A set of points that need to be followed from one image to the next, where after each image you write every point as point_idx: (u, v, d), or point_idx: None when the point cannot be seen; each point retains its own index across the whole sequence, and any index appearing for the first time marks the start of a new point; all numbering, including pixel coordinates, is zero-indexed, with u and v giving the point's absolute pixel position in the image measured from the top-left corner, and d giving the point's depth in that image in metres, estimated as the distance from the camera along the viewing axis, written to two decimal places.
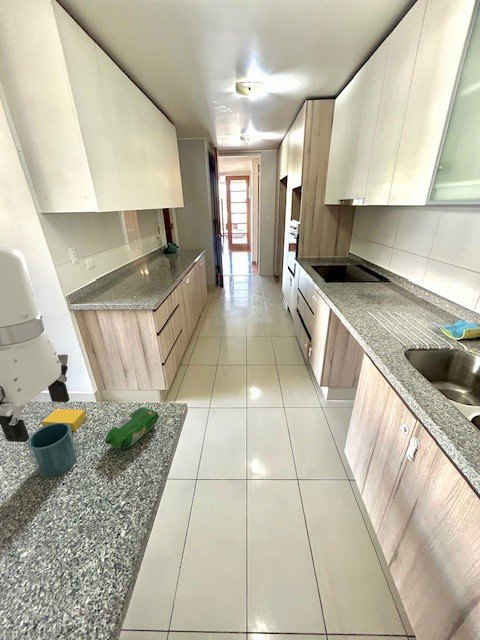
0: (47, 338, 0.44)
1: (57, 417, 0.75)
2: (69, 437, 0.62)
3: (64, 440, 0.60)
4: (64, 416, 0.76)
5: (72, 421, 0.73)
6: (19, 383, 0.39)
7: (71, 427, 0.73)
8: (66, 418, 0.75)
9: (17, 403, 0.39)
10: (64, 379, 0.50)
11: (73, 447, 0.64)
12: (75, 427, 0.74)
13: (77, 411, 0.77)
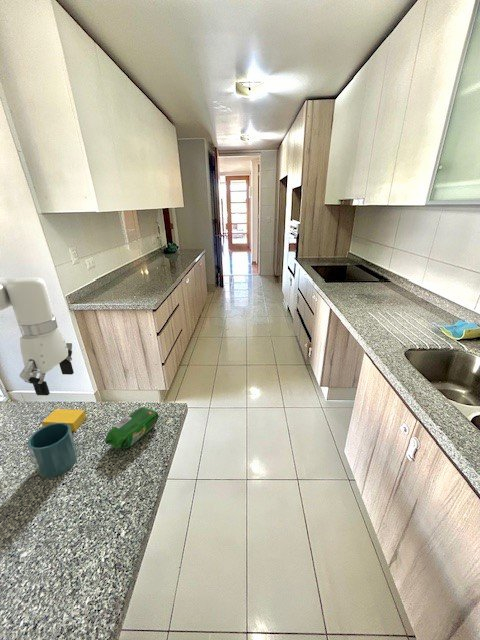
0: (59, 331, 0.70)
1: (57, 417, 0.75)
2: (69, 437, 0.62)
3: (64, 440, 0.60)
4: (64, 416, 0.76)
5: (72, 421, 0.73)
6: (44, 358, 0.65)
7: (71, 427, 0.73)
8: (66, 418, 0.75)
9: (42, 370, 0.65)
10: (70, 359, 0.75)
11: (73, 447, 0.64)
12: (75, 427, 0.74)
13: (77, 411, 0.77)
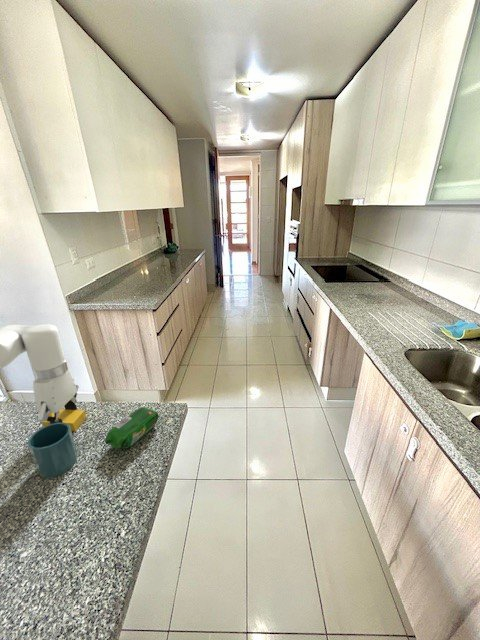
0: (69, 372, 0.74)
1: None
2: (69, 437, 0.62)
3: (64, 440, 0.60)
4: (65, 416, 0.76)
5: (72, 421, 0.73)
6: (55, 400, 0.69)
7: (71, 427, 0.73)
8: (66, 418, 0.75)
9: (53, 411, 0.69)
10: (75, 401, 0.78)
11: (73, 447, 0.64)
12: (75, 427, 0.74)
13: (77, 411, 0.77)
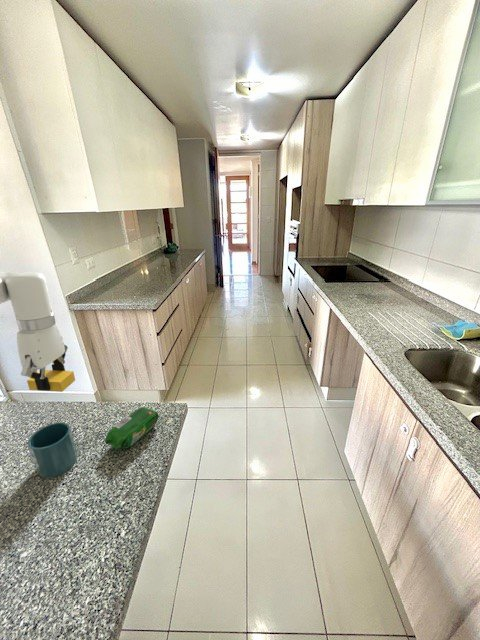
0: (57, 328, 0.69)
1: None
2: (69, 437, 0.62)
3: (64, 440, 0.60)
4: (51, 376, 0.71)
5: (59, 381, 0.68)
6: (40, 354, 0.64)
7: (58, 387, 0.69)
8: (52, 378, 0.70)
9: (38, 366, 0.64)
10: (63, 362, 0.74)
11: (73, 447, 0.64)
12: (62, 387, 0.69)
13: (65, 372, 0.73)
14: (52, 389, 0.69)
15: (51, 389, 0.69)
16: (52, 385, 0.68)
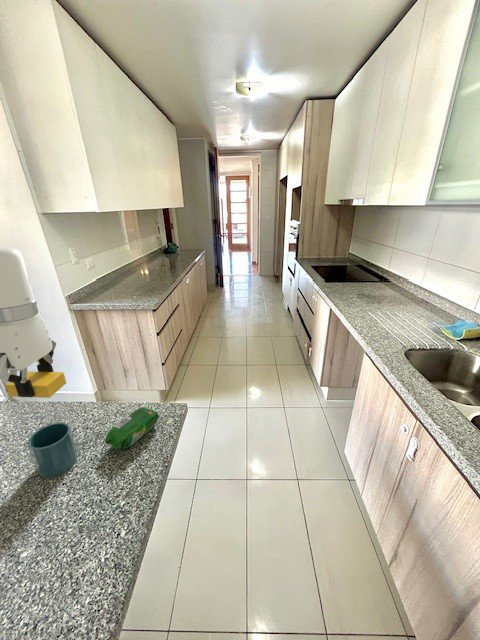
0: (40, 319, 0.56)
1: None
2: (69, 437, 0.62)
3: (64, 440, 0.60)
4: (36, 378, 0.57)
5: (45, 384, 0.55)
6: (19, 352, 0.51)
7: (44, 392, 0.55)
8: (37, 381, 0.56)
9: (17, 367, 0.51)
10: (50, 361, 0.60)
11: (73, 447, 0.64)
12: (50, 392, 0.56)
13: (53, 373, 0.59)
14: (37, 395, 0.56)
15: (36, 395, 0.56)
16: (36, 390, 0.55)
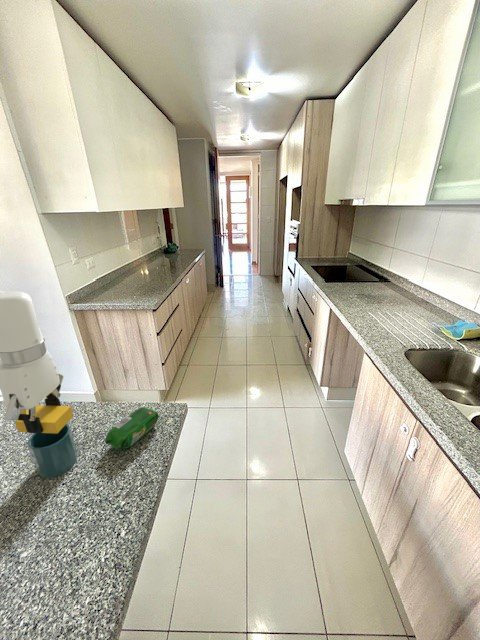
0: (48, 356, 0.57)
1: None
2: (69, 437, 0.62)
3: (64, 440, 0.60)
4: (44, 413, 0.59)
5: (53, 421, 0.57)
6: (28, 392, 0.52)
7: (52, 428, 0.57)
8: (45, 417, 0.58)
9: (27, 407, 0.52)
10: (58, 395, 0.62)
11: (73, 447, 0.64)
12: (57, 428, 0.57)
13: (61, 407, 0.61)
14: (45, 431, 0.57)
15: (44, 431, 0.57)
16: (45, 426, 0.57)
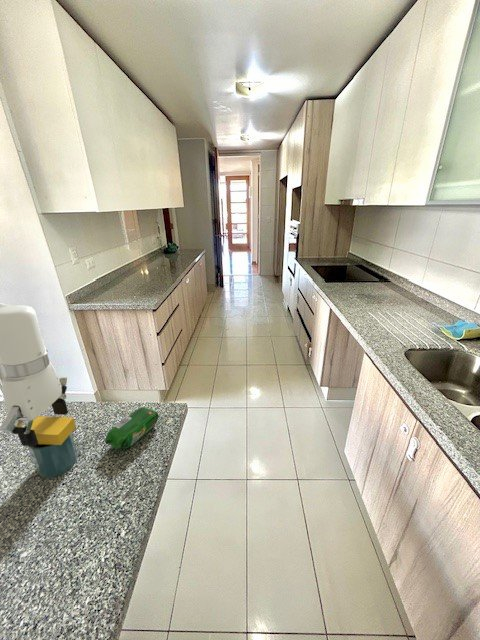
0: (51, 368, 0.58)
1: (38, 426, 0.60)
2: (69, 437, 0.62)
3: None
4: (48, 425, 0.60)
5: (56, 433, 0.58)
6: (32, 403, 0.53)
7: (55, 440, 0.58)
8: (49, 428, 0.59)
9: (30, 418, 0.53)
10: (64, 397, 0.64)
11: (73, 447, 0.64)
12: (61, 440, 0.58)
13: (64, 419, 0.62)
14: (49, 442, 0.58)
15: (48, 442, 0.58)
16: (48, 438, 0.58)
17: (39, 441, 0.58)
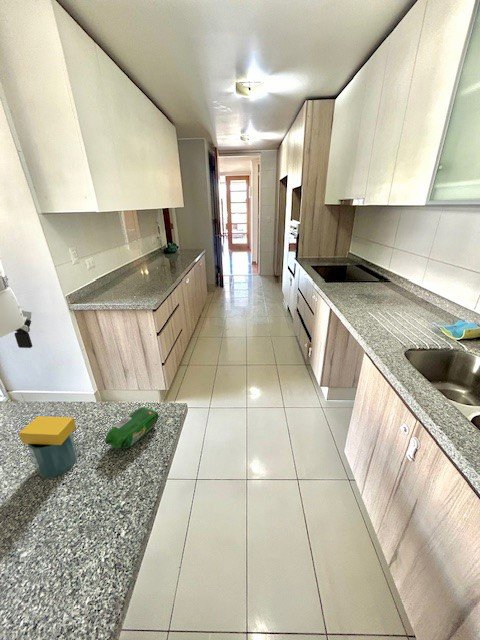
0: (11, 294, 0.59)
1: (38, 426, 0.60)
2: (69, 437, 0.62)
3: None
4: (48, 425, 0.60)
5: (56, 433, 0.58)
6: None
7: (55, 440, 0.58)
8: (49, 428, 0.59)
9: None
10: (28, 329, 0.65)
11: (73, 447, 0.64)
12: (61, 440, 0.58)
13: (64, 419, 0.62)
14: (49, 442, 0.58)
15: (48, 442, 0.58)
16: (48, 438, 0.58)
17: (39, 441, 0.58)
